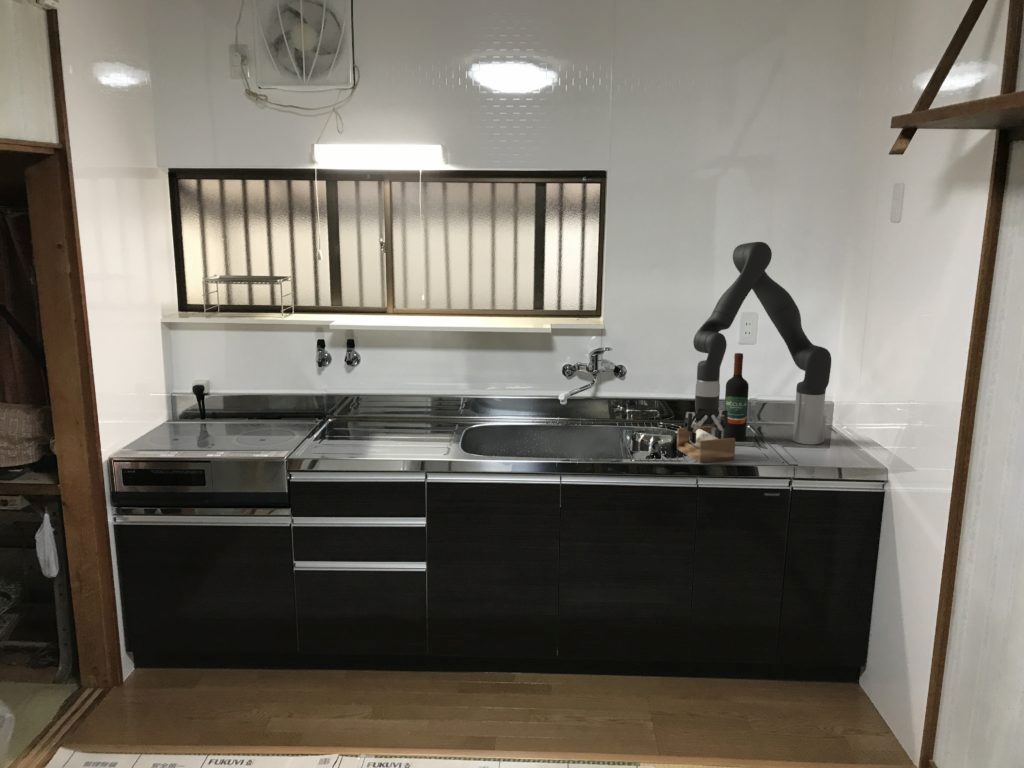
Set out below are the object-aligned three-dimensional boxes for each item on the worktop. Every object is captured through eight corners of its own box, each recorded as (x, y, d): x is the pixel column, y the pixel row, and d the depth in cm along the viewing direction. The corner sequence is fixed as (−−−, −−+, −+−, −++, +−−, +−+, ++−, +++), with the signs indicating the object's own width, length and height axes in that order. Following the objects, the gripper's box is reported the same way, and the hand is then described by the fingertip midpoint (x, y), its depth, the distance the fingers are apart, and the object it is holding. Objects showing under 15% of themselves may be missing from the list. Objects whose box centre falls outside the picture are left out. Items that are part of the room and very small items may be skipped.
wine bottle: (748, 437, 265) (752, 352, 259) (742, 442, 258) (747, 356, 252) (726, 434, 268) (730, 351, 262) (720, 439, 262) (724, 354, 256)
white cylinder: (685, 439, 249) (697, 425, 249) (697, 449, 251) (708, 435, 251) (700, 448, 239) (712, 433, 239) (713, 458, 241) (724, 444, 241)
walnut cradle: (676, 448, 252) (677, 428, 250) (709, 446, 255) (710, 425, 253) (699, 463, 237) (700, 441, 235) (734, 459, 239) (735, 438, 238)
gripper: (721, 389, 247) (719, 437, 250) (681, 392, 243) (679, 440, 247) (733, 394, 240) (730, 443, 243) (692, 397, 236) (690, 447, 239)
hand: (705, 442), depth 245 cm, fingers open, 8 cm apart
